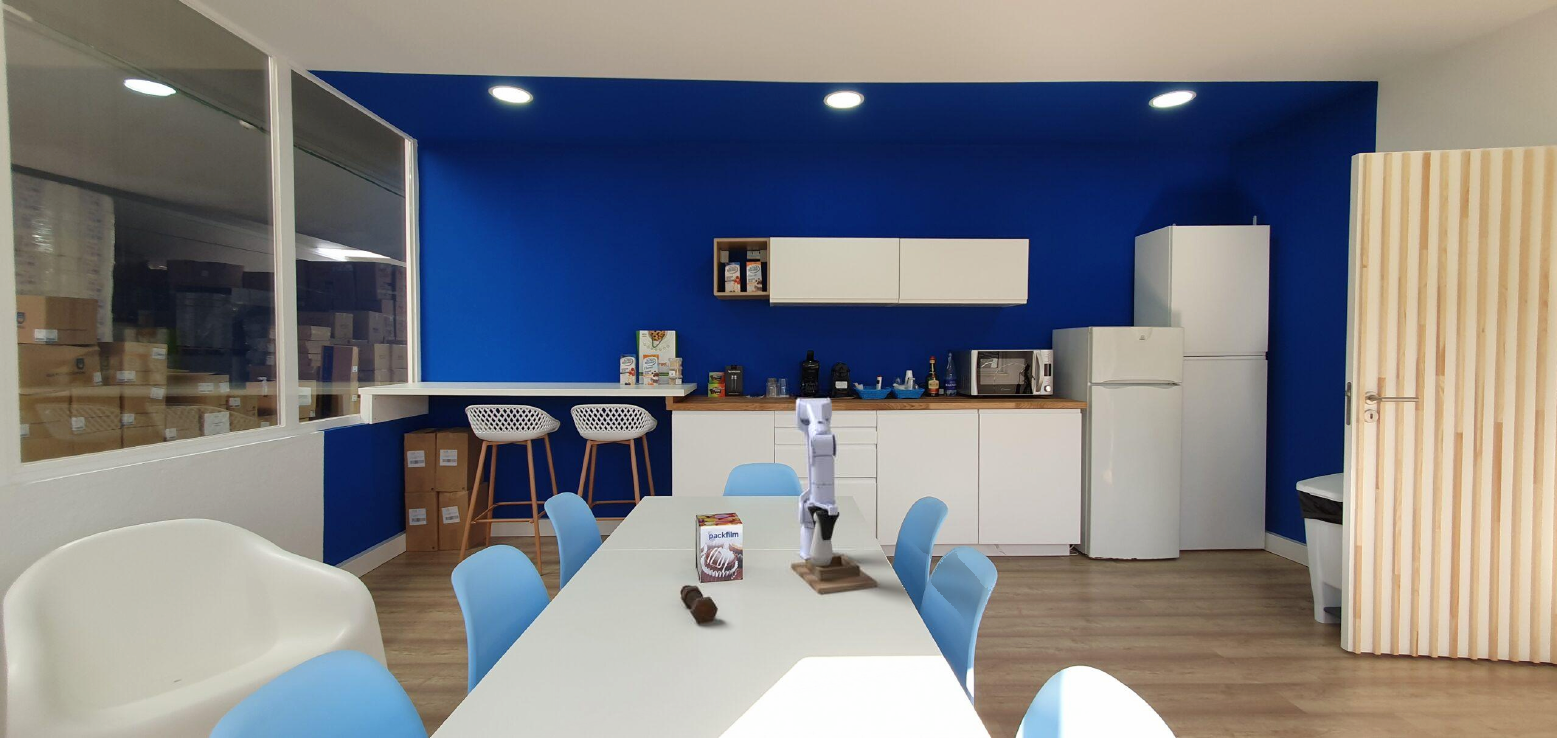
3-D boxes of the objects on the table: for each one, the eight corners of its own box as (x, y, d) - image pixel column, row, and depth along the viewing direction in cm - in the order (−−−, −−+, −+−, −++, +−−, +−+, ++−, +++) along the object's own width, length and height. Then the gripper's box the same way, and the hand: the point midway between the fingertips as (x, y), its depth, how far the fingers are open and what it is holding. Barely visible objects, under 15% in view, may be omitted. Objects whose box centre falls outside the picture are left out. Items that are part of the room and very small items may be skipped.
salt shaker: (805, 565, 169) (806, 512, 169) (815, 559, 174) (816, 508, 174) (827, 568, 166) (828, 515, 166) (836, 562, 172) (837, 510, 171)
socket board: (791, 567, 179) (791, 553, 179) (844, 562, 184) (844, 548, 183) (818, 593, 160) (818, 578, 160) (876, 586, 164) (876, 571, 164)
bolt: (690, 607, 158) (709, 629, 144) (671, 599, 156) (688, 620, 142) (701, 583, 159) (721, 602, 145) (683, 575, 157) (701, 594, 144)
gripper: (798, 478, 176) (798, 531, 176) (817, 489, 162) (818, 546, 162) (824, 476, 178) (824, 528, 178) (845, 487, 164) (845, 544, 164)
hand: (823, 537), depth 170 cm, fingers closed on salt shaker, 4 cm apart
